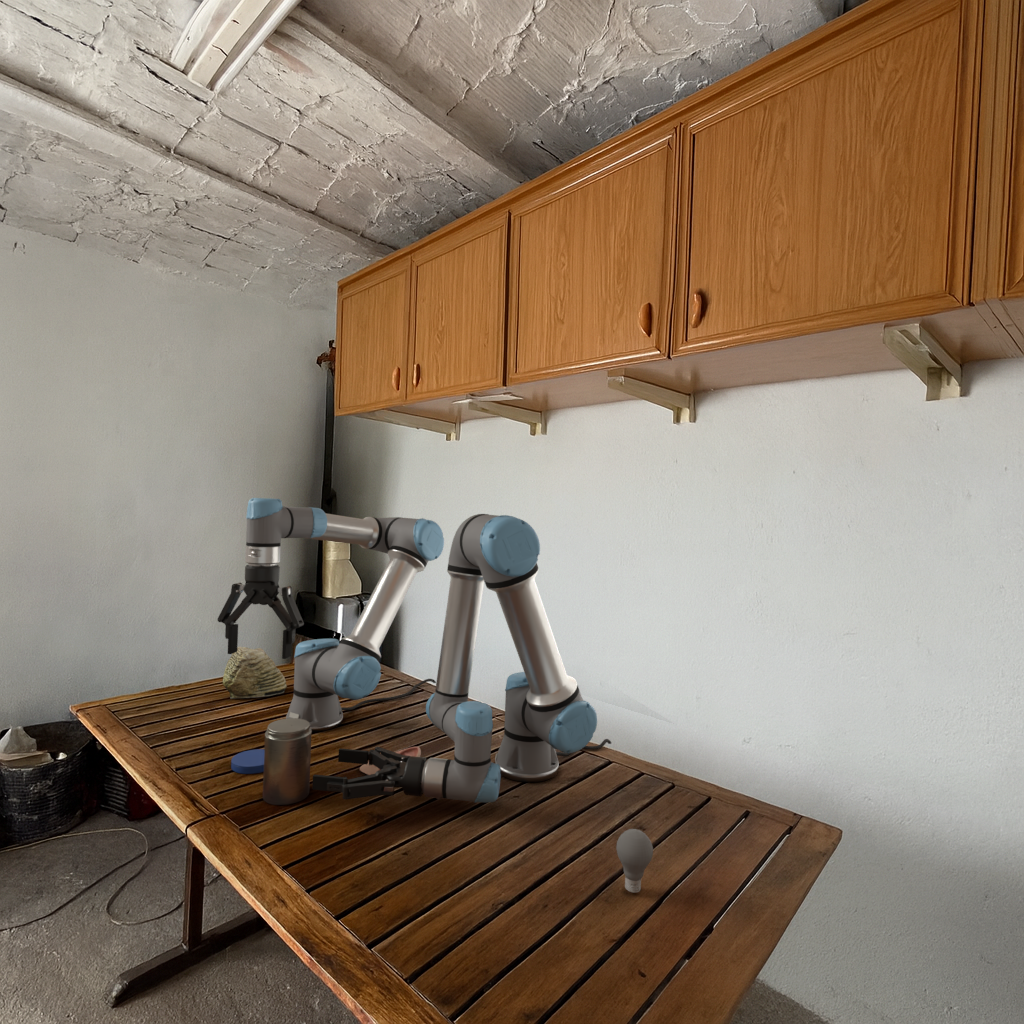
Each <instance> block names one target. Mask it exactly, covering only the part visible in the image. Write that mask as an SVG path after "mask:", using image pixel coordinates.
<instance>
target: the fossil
mask: <svg viewBox="0 0 1024 1024" xmlns="http://www.w3.org/2000/svg"><path fill="white" fill-rule="evenodd" d="M230 655H231V656H230V657H229V659H228V660H227V663H226V666H225V668H224V671H223V675H222V676H223V677H222V685H223V687H224V688H225V690H226V691H228V693H229V698H230V699H250V698H264V697H271V696H275V695H281V694H284V693H285V691H286V689H287V687H288V686H287V680H286V678H285V676H284V674H283V673H282V672H281V669H279V668H278V667H277V665H276V663H275V662H274V660H273V659H272V658H271V657H270V656H269V655H268V654H267V653H266V652H265V650H264V649H263V648H260V647H258V648H251V647H247V646H246V647H245V646H237V652H235V653H232V654H230Z"/></svg>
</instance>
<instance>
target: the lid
mask: <svg viewBox="0 0 1024 1024" xmlns="http://www.w3.org/2000/svg"><path fill="white" fill-rule="evenodd" d="M264 749H265V748H256V749H250V750H245V751H241V752H239V753H237V754H235V755H233V756H232V758H231V759H230V760H231V762H230V768H231V771H233V772H235V773H238V774H243V775H253V774H260V773H264Z"/></svg>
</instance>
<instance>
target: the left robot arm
mask: <svg viewBox="0 0 1024 1024" xmlns="http://www.w3.org/2000/svg"><path fill="white" fill-rule="evenodd" d="M245 518H246V535H245V537H246V538H245V541H246V542H245V563H246V565H245V566H244V582H245V583H244V584H243V582H235V583H232V585H231V588H230V594H229V596H228V598H227V599H226V601H225V603H224V605H223V607H222V609H221V611H220V613H219V615H218V617H217V622H218V623H222V624H224V625H225V632H224V633H225V634H224V637H225V639H226V640H227V655H232V653H235V652H237V648H238V643H239V642H238V641H239V623H237V621H238V619H240V618H241V616H242V615H243V614H244V613H245V612H246V611H247V609H248V608H249V607H250V606H251V605H261V606H267V605H268V607H269V608H271V609H272V610H273V612H274V614H275V615H276V617H278V619H279V620H280V622H281V623H282V625H283V626H284V628H285V629H284V630H282V654H281V655H282V656H281V659H282V660H286V659H288V658H291V657H292V644H294V643H295V642H296V629H299V628H301V627H304V625H305V622H304V620H303V618H302V615H301V613H300V611H299V608H298V605H297V604H296V600H295V598H294V596H293V588H292V586H291V585H288V586H287V585H286V586H280V585H279V581H280V572H281V571H280V569H281V567H280V565H278V564H280V563H281V545H282V544H281V543H282V539H308V540H316V541H326V542H334V543H341V544H342V543H343V544H350V545H351V544H352V545H359V546H360V548H362V549H365V550H372V551H376V552H379V553H383V554H387V555H388V558H389V560H388V563H386V566H385V568H384V570H383V572H382V574H381V575H380V577H379V579H378V581H377V583H376V585H375V587H374V589H373V591H372V593H371V594H370V596H369V598H368V600H367V602H366V604H365V606H364V608H363V610H362V612H361V614H360V616H359V618H358V619H357V621H356V623H355V625H354V627H353V629H352V631H351V633H350V634H349V635H348V636H344V637H342V638H341V640H340V641H339V639H337V638H317V639H308V640H304V641H300V642H299V643H297V645H296V646H295V650H294V655H293V657H294V672H293V673H294V674H293V695H292V696H293V697H292V699H291V702H290V704H289V708H288V711H287V713H286V715H285V719H288V718H298V719H304V720H307V721H308V722H309V723H310V728H311V730H312V733H316V732H325V731H329V730H332V729H335V728H337V727H339V726H340V725H342V723H343V722H344V714H343V711H344V712H345V711H353V710H355V709H356V708H359V707H360V706H362V705H365V704H369V703H373V702H374V703H375V702H386V701H387V702H388V701H394V700H396V699H401V698H405V697H407V696H409V695H411V694H412V693H413V692H414V691H416V689H417V688H418V687H420V686H422V685H423V684H425V683H428V682H432V683H433V684H436V682H437V680H435V679H433V678H426V679H424V680H422V681H420V682H418V683H416V684H414V685H413V687H412V688H411V690H409V691H407V692H405V693H402V694H399V695H394V696H388V697H379V698H370V699H365V700H362V699H363V698H366V697H368V696H369V695H370V694H372V693H373V692H374V690H376V688H377V686H378V684H379V682H380V680H381V677H382V672H381V670H382V667H381V664H380V660H381V658H382V655H381V652H380V647H381V646H382V644H383V642H384V640H385V638H386V636H387V633H388V631H389V629H390V627H391V625H392V624H393V622H394V619H395V617H396V616H397V614H398V612H399V610H400V607H401V606H402V603H403V602H404V599H405V597H406V595H407V593H408V591H409V589H410V587H411V585H412V583H413V582H414V579H415V577H416V575H417V574H418V573H421V572H423V571H425V569H426V567H427V565H428V563H429V562H431V561H435V560H437V559H438V558H440V556H441V555H442V553H443V550H444V547H445V538H444V533H443V530H442V528H441V526H440V525H439V523H437V522H436V521H434V520H432V519H431V520H430V519H426V518H423V517H422V518H414V517H413V518H410V517H401V516H395V517H394V516H392V517H390V516H389V517H375V516H366V517H364V518H358V517H352V516H346V515H338V514H333V513H326V512H325V511H324V510H323V509H322V508H319V507H312V506H307V507H306V506H287V505H283V501H282V499H281V498H272V497H271V498H268V497H267V498H266V497H251V498H250V499H249V500H248V502H247V510H246V516H245ZM243 592H244V594H245V597H244V598H243V599H242V600H240V601H241V602H240V603H239V604H238V606H237V607H236V605H237V603H238V600H239V599H240V597H241V594H242V593H243ZM278 595H279V596H281V597H282V601H283V604H284V606H285V607H284V606H283V604H282V601H281V600H280V598H279V597H278ZM235 607H236V608H235ZM234 608H235V609H234ZM339 697H340V698H342V699H347V700H353V701H357V700H362V701H359V702H358V703H356V704H355V705H352V706H350V707H349V706H348V707H347V706H346V707H345V706H344V707H343V706H341V702H340V699H339Z"/></svg>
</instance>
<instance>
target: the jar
mask: <svg viewBox="0 0 1024 1024" xmlns="http://www.w3.org/2000/svg"><path fill="white" fill-rule="evenodd" d="M312 734H313V732H312V730H311V728H310V723H309V722H308V721H307V720H304V719H298V718H288V719H286V718H281V719H277V720H274V721H272V722H270V723H269V724H268V725H267V728H266V731H265V733H264V748H263V749H264V772H263V777H262V779H263V780H262V800H263V802H265V803H267V804H270V805H273V806H274V805H275V806H287V805H293V804H296V803H299V802H301V801H303V800H305V799H306V798H308V796H309V795H310V785H311V784H310V783H311V759H312V758H311V755H312Z"/></svg>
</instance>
